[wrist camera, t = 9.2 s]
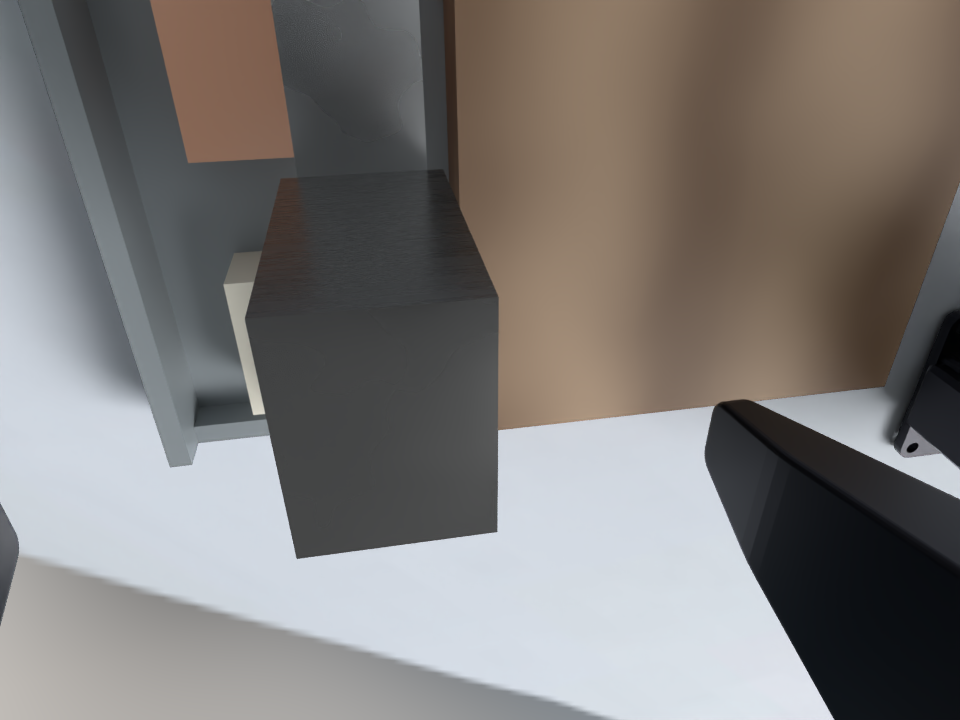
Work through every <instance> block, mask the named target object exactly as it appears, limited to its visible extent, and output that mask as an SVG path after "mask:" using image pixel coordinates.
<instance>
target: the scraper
mask: <svg viewBox="0 0 960 720" xmlns="http://www.w3.org/2000/svg"><path fill="white" fill-rule="evenodd" d="M271 7H272V13H273V20H274V27H275V33H276V40H277V46H278V53H279V59H280V66H281V73H282V79H283V86H284V92H285V99H286V106H287V112H288V119H289V125H290V132H291V138H292V145H293V152H294V158H295V165H296V171H297V178H281V179H280V183H279V187H278V191H277V195H276V199H275V203H274V207H273V210H272V214H271V218H270V222H269V226H268V230H267V234H266V238H265V242H264V246H263V249H262V253H261V257H260V261H259V265H258V269H257V273H256V277H255V281H254V285H253V288H252V292H251V296H250V300H249V304H248V308H247V312H246V316H245V323H246V328H247V332H248V337H249V342H250V346H251V351H252V355H253V360H254V365H255V369H256V374H257V378H258V383H259V387H260V392H261V397H262V401H263V406H264V410H265V415H266V420H267V424H268V429H269V433H270V438H271V443H272V447H273V452H274V456H275V461H276V466H277V470H278V475H279V479H280V484H281V489H282V493H283V498H284V502H285V507H286V512H287V516H288V521H289V525H290V530H291V535H292V539H293V544H294V548H295V553H296V558H297V559H299V558H307V557H314V556H322V555H329V554H337V553H344V552H351V551H359V550H366V549H374V548H381V547H389V546H396V545H404V544H411V543H418V542H426V541H433V540H441V539H448V538H456V537H463V536H471V535H478V534H485V533H493V532H497V497H498V343H499V297H498V294H497V292H496V290H495V287H494V285H493V283H492V281H491V278H490V276H489V274H488V271H487V269H486V267H485V264H484V262H483V260H482V258H481V255H480V253H479V251H478V248H477V246H476V244H475V241H474V239H473V237H472V235H471V232H470V230H469V228H468V225H467V223H466V221H465V218H464V216H463V214H462V212H461V209H460V207H459V205H458V202H457V200H456V198H455V195H454V193H453V191H452V189H451V186H450V184H449V182H448V179H447V177H446V175H445V172H444V170H443V169H435V170H427V154H426V134H425V114H424V94H423V74H422V54H421V34H420V14H419V0H271Z"/></svg>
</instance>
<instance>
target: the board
mask: <svg viewBox="0 0 960 720" xmlns="http://www.w3.org/2000/svg"><path fill="white" fill-rule="evenodd" d="M443 13H444V44H445V74H446V104H447V134H448V164H449V184H450V186H451V189H452V191H453V193H454V195H455V198H456V200H457V202H458V205H459V207H460V209H461V212H462V214H463V216H464V218H465V221H466V223H467V225H468V228H469V230H470V232H471V235H472V237H473V239H474V241H475V244H476V246H477V248H478V251H479V253H480V255H481V258H482V260H483V262H484V264H485V267H486V269H487V271H488V274H489V276H490V278H491V281H492V283H493V285H494V287H495V290H496V292H497V294H498V297H499V343H498V430H504V429H513V428H522V427H531V426H540V425H548V424H557V423H566V422H575V421H584V420H593V419H601V418H610V417H619V416H628V415H637V414H646V413H655V412H663V411H672V410H681V409H690V408H699V407H708V406H716V405H717V404H718V403H720V402H722V401H731V400H739V399H747V400H751V401H761V400H769V399H778V398H787V397H796V396H805V395H814V394H822V393H831V392H840V391H849V390H858V389H867V388H875V387H884V386H885V384H886V381H887V378H888V375H889V373H890V370H891V367H892V365H893V362H894V359H895V356H896V354H897V351H898V348H899V346H900V343H901V340H902V338H903V335H904V332H905V329H906V327H907V324H908V321H909V319H910V316H911V313H912V310H913V308H914V305H915V302H916V300H917V297H918V294H919V291H920V289H921V286H922V283H923V281H924V278H925V275H926V272H927V270H928V267H929V264H930V262H931V259H932V256H933V253H934V251H935V248H936V245H937V243H938V240H939V237H940V234H941V232H942V229H943V226H944V224H945V221H946V218H947V215H948V213H949V210H950V207H951V205H952V202H953V199H954V196H955V194H956V191H957V188H958V186H959V183H960V0H443Z"/></svg>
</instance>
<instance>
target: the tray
mask: <svg viewBox="0 0 960 720" xmlns="http://www.w3.org/2000/svg"><path fill="white" fill-rule="evenodd" d="M18 3H19V6H20V9H21V12H22V15H23V18H24V21H25V24H26V27H27V30H28V33H29V36H30V39H31V42H32V45H33V49H34V52H35V55H36V58H37V61H38V64H39V67H40V70H41V73H42V76H43V79H44V82H45V85H46V88H47V92H48V95H49V98H50V101H51V104H52V107H53V110H54V113H55V116H56V119H57V122H58V125H59V128H60V131H61V134H62V138H63V141H64V144H65V147H66V150H67V153H68V156H69V159H70V162H71V165H72V168H73V171H74V174H75V177H76V180H77V184H78V187H79V190H80V193H81V196H82V199H83V202H84V205H85V208H86V211H87V214H88V217H89V220H90V223H91V226H92V230H93V233H94V236H95V239H96V242H97V245H98V248H99V251H100V254H101V257H102V260H103V263H104V266H105V269H106V273H107V276H108V279H109V282H110V285H111V288H112V291H113V294H114V297H115V300H116V303H117V306H118V309H119V312H120V315H121V319H122V322H123V325H124V328H125V331H126V334H127V337H128V340H129V343H130V346H131V349H132V352H133V355H134V358H135V361H136V365H137V368H138V371H139V374H140V377H141V380H142V383H143V386H144V389H145V392H146V395H147V398H148V401H149V404H150V407H151V411H152V414H153V417H154V420H155V423H156V426H157V429H158V432H159V435H160V438H161V441H162V444H163V447H164V450H165V454H166V457H167V460H168V463H169V466H170V467H177V466H186V465H192V463H193V460H194V456H195V453H196V449H197V446H198V443H203V442H213V441H222V440H231V439H240V438H249V437H258V436H268V435H270V433H269V429H268V424H267V420H266V415H265V414H259V415H253V412H252V407H251V403H250V399H249V394H248V390H247V385H246V381H245V377H244V372H243V368H242V364H241V359H240V355H239V351H238V346H237V342H236V337H235V333H234V329H233V324H232V320H231V316H230V311H229V307H228V303H227V298H226V294H225V289H224V285H223V284H224V281H225V278H226V275H227V272H228V269H229V267H230V264H231V261H232V258H233V255H234V253H241V252H255V251H262V249H263V246H264V242H265V238H266V234H267V230H268V226H269V222H270V218H271V214H272V210H273V207H274V203H275V199H276V195H277V191H278V187H279V183H280V179H281V178H297V171H296V165H295V158H294V157H291V158H273V159H254V160H236V161H217V162H199V163H188V160H187V156H186V151H185V147H184V143H183V139H182V134H181V130H180V126H179V122H178V117H177V113H176V109H175V105H174V100H173V96H172V92H171V88H170V83H169V79H168V75H167V71H166V66H165V62H164V58H163V54H162V49H161V45H160V41H159V37H158V32H157V28H156V24H155V19H154V15H153V11H152V7H151V2H150V0H18ZM419 14H420V34H421V54H422V74H423V94H424V114H425V134H426V154H427V170H435V169H443V170H444V172H445V175H446V177H447V179H448V182H449V164H448V134H447V104H446V74H445V44H444V13H443V0H419Z"/></svg>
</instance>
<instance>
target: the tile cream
mask: <svg viewBox="0 0 960 720" xmlns="http://www.w3.org/2000/svg"><path fill="white" fill-rule="evenodd" d="M261 253H262V251H255V252H241V253H234V255H233V258H232V261H231V264H230V267H229V269H228V272H227V275H226V278H225V281H224V284H223V285H224V289H225V294H226V298H227V303H228V307H229V311H230V316H231V320H232V324H233V329H234V333H235V337H236V342H237V346H238V351H239V355H240V359H241V364H242V368H243V372H244V377H245V381H246V385H247V390H248V394H249V399H250V403H251V407H252V412H253V415H259V414H265V410H264V406H263V401H262V397H261V392H260V387H259V383H258V378H257V374H256V369H255V365H254V360H253V355H252V351H251V346H250V342H249V337H248V332H247V328H246V323H245V316H246V312H247V308H248V304H249V300H250V296H251V292H252V288H253V285H254V281H255V277H256V273H257V269H258V265H259V261H260V257H261Z"/></svg>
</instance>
